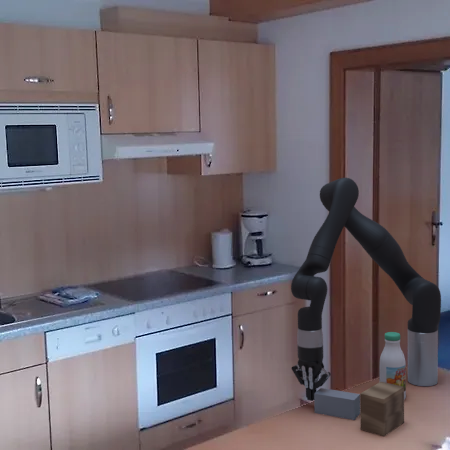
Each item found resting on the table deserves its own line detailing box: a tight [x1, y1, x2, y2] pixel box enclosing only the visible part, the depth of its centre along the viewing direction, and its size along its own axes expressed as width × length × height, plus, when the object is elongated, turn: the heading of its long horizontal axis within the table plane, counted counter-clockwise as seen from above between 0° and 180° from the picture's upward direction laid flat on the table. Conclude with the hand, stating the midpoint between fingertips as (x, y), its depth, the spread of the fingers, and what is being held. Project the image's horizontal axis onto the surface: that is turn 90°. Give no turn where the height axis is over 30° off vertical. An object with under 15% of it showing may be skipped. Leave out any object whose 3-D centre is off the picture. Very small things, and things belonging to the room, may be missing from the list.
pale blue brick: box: [313, 387, 360, 421], centre depth 196 cm, size 5×12×6 cm, turn 60°
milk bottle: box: [379, 331, 407, 401], centre depth 205 cm, size 8×8×20 cm
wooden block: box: [359, 381, 405, 437], centre depth 186 cm, size 11×7×10 cm, turn 138°
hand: (311, 399), depth 202 cm, fingers closed
